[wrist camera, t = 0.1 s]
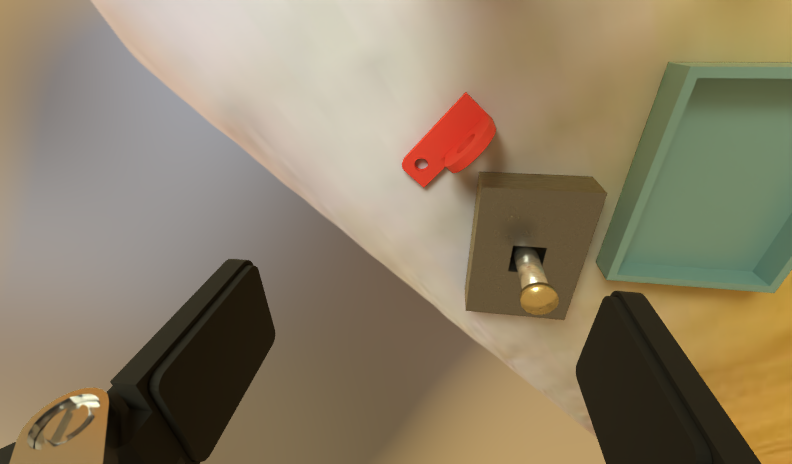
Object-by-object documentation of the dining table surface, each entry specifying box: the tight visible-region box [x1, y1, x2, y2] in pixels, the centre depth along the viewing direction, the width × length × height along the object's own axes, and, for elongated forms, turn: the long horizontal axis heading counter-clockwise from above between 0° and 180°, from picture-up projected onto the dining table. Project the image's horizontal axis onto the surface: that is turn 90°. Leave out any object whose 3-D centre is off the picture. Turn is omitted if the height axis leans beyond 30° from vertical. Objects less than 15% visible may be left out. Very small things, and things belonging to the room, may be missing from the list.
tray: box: [596, 62, 792, 293], centre depth 40 cm, size 26×20×4 cm
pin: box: [512, 246, 559, 315], centre depth 44 cm, size 4×4×13 cm
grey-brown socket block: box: [465, 172, 607, 320], centre depth 47 cm, size 20×14×5 cm
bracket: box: [402, 92, 496, 187], centre depth 41 cm, size 12×4×8 cm, turn 139°
